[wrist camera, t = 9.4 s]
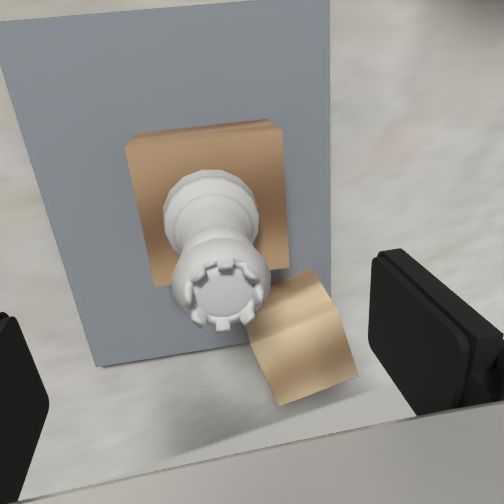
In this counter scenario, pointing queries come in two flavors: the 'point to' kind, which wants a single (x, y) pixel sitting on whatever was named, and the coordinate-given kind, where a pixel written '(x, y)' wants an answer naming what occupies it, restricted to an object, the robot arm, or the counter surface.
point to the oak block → (300, 339)
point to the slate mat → (156, 119)
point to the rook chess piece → (216, 249)
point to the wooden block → (210, 158)
